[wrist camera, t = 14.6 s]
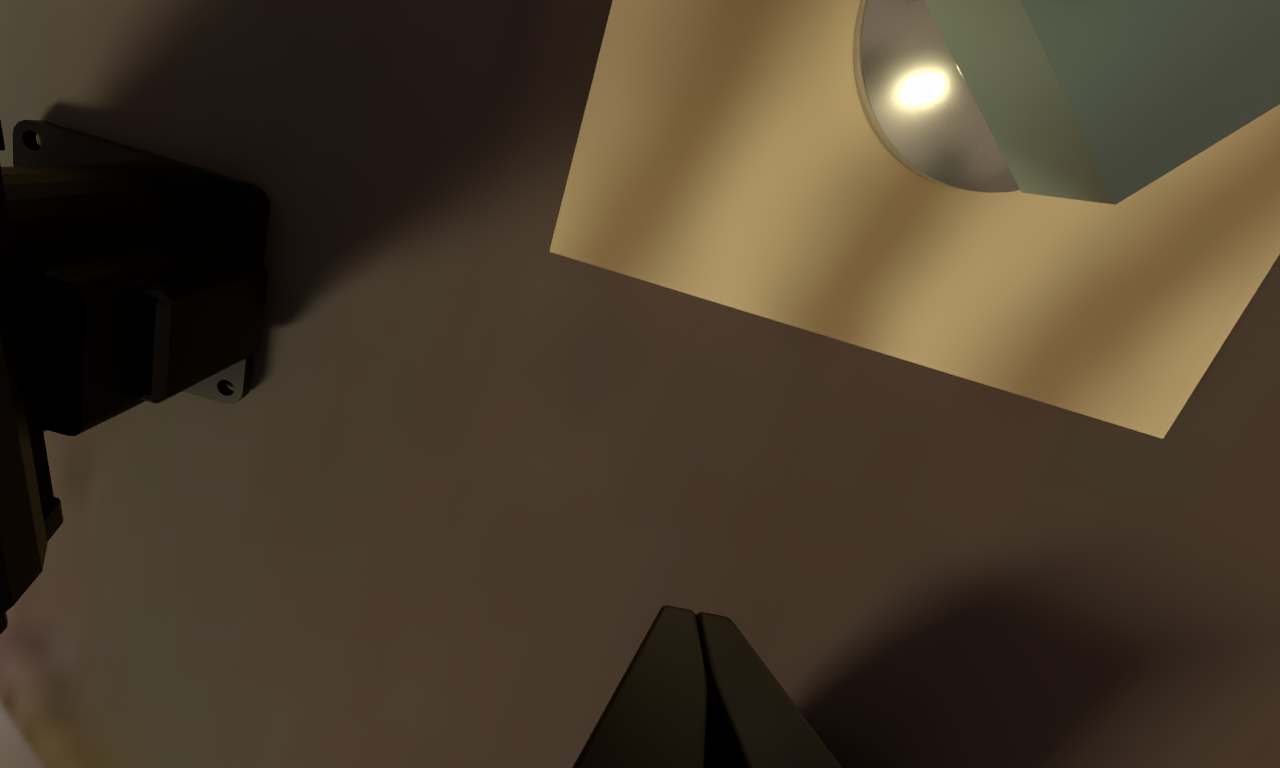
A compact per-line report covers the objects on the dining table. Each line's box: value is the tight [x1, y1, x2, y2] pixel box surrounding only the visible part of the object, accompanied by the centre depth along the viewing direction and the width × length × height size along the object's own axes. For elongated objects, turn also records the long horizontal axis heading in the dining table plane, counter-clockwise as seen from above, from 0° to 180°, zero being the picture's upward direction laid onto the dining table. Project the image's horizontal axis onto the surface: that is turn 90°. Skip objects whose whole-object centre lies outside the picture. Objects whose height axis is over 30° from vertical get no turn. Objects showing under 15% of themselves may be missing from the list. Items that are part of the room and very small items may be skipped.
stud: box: [853, 0, 1020, 193], centre depth 14 cm, size 7×7×3 cm
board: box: [549, 0, 1280, 439], centre depth 16 cm, size 18×16×1 cm
